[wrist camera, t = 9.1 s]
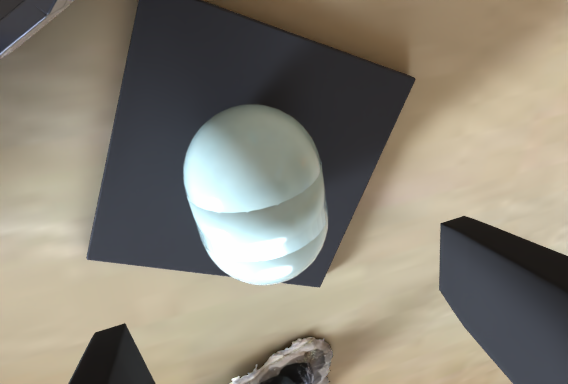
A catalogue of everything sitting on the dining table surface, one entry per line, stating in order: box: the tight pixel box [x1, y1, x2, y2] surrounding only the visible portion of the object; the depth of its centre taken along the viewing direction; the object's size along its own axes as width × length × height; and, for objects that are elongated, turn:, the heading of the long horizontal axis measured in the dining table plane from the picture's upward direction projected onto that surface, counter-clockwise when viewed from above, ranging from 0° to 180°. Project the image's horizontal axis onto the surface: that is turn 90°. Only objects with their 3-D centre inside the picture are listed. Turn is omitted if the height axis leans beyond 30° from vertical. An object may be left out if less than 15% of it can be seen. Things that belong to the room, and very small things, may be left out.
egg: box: [183, 104, 328, 285], centre depth 14 cm, size 6×4×4 cm
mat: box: [87, 0, 415, 287], centre depth 16 cm, size 10×10×1 cm
